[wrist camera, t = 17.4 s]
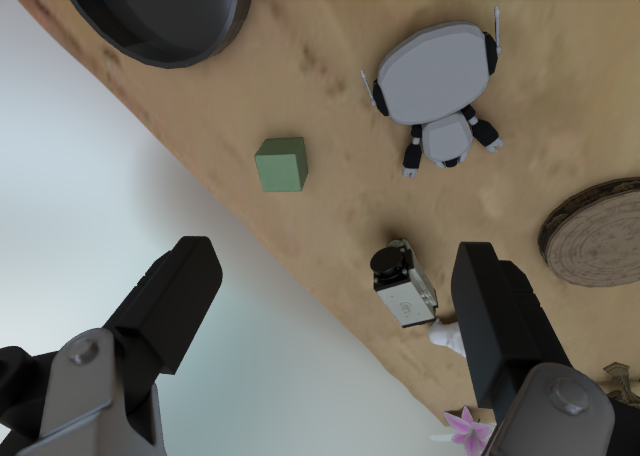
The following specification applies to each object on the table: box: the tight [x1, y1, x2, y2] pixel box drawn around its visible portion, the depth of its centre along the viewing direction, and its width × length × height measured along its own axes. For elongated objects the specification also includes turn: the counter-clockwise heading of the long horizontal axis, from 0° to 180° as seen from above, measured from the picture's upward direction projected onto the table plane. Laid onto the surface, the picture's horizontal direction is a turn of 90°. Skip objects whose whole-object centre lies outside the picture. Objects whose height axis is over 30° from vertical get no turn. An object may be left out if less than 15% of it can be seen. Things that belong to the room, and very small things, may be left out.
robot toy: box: [361, 5, 504, 178], centre depth 33 cm, size 12×4×15 cm
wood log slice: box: [538, 177, 640, 287], centre depth 40 cm, size 16×16×3 cm
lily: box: [444, 406, 492, 456], centre depth 76 cm, size 12×12×10 cm
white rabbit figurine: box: [428, 318, 466, 358], centre depth 54 cm, size 6×8×12 cm
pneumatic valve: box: [370, 239, 438, 328], centre depth 44 cm, size 6×12×12 cm, turn 33°
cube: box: [254, 138, 308, 192], centre depth 39 cm, size 5×5×5 cm
